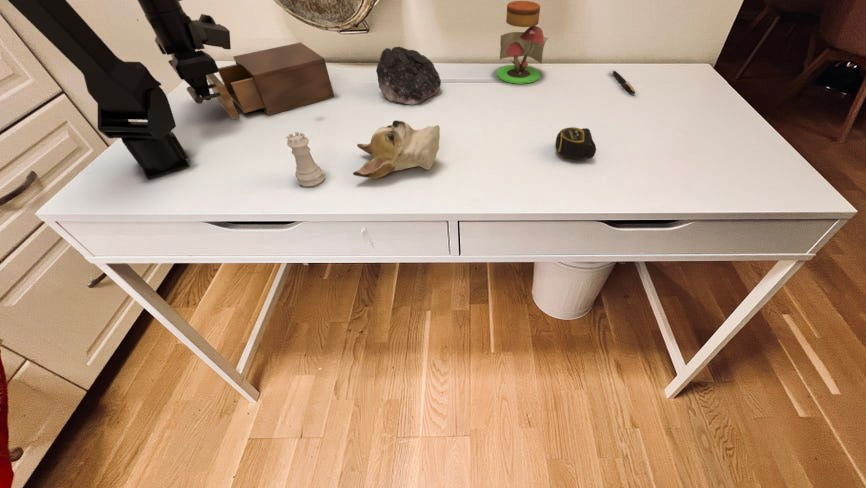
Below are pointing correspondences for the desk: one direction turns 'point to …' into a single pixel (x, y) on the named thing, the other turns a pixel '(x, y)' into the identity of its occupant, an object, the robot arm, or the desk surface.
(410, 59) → the crystal cluster
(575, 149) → the tape measure
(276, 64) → the cabinet
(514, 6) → the mushroom figurine
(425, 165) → the ceramic sculpture
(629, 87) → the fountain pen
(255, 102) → the drawer
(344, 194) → the desk surface
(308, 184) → the rook chess piece
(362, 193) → the desk surface
